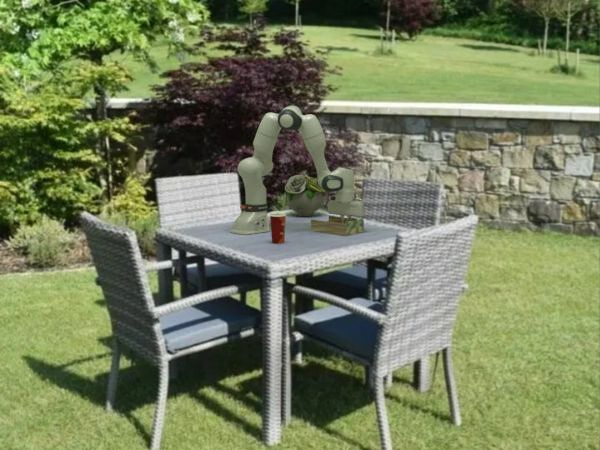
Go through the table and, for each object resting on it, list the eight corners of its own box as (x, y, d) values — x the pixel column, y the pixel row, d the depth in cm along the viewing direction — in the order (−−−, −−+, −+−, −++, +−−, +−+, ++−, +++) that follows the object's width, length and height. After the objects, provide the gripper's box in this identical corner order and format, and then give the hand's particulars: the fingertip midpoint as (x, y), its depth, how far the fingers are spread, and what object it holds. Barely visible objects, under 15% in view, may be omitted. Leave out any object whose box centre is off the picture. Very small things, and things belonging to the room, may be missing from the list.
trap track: (345, 236, 388) (345, 222, 387) (310, 230, 403) (310, 217, 402) (363, 231, 400) (363, 218, 399) (329, 226, 415) (329, 213, 414)
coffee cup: (287, 243, 370) (286, 213, 368) (270, 244, 370) (269, 213, 367) (285, 240, 379) (285, 210, 376) (269, 240, 378) (269, 211, 375)
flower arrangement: (277, 217, 442) (277, 175, 437) (293, 210, 465) (293, 171, 460) (317, 220, 433) (318, 177, 429) (331, 213, 456) (332, 172, 452)
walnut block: (350, 227, 394) (350, 219, 394) (345, 226, 398) (345, 218, 397) (357, 227, 397) (357, 218, 396) (352, 225, 400) (352, 217, 400)
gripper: (366, 198, 396) (366, 224, 399) (331, 195, 406) (331, 220, 409) (361, 199, 391) (360, 226, 393) (326, 196, 401) (326, 222, 404)
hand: (345, 223), depth 401 cm, fingers closed
